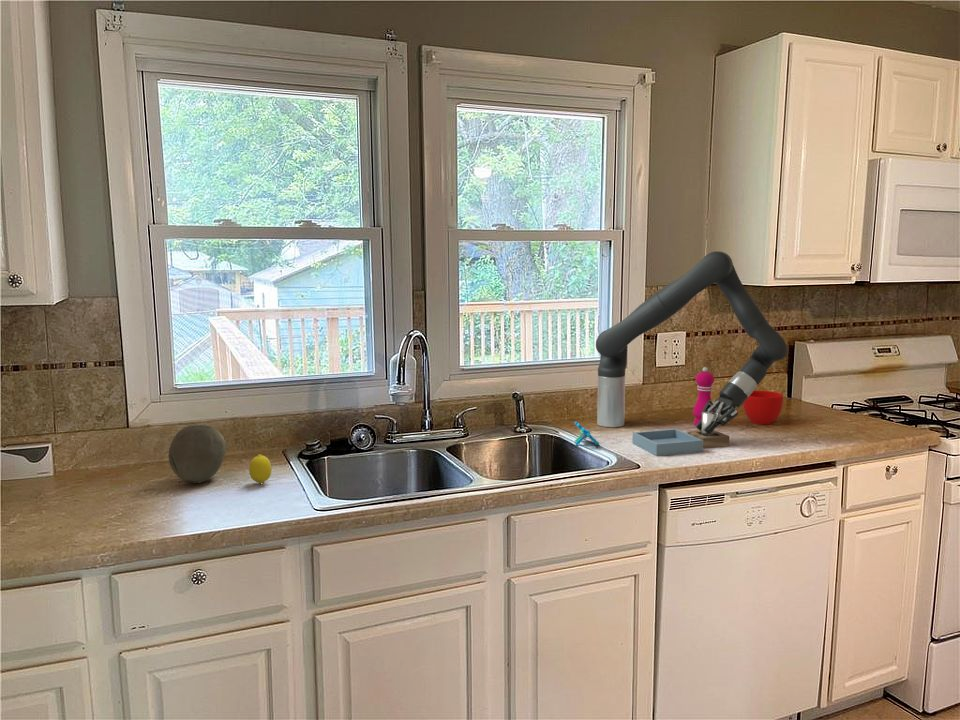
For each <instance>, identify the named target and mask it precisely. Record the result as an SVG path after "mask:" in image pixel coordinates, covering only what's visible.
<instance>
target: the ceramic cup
mask: <svg viewBox="0 0 960 720" xmlns="http://www.w3.org/2000/svg"><path fill="white" fill-rule="evenodd" d="M783 403H784V395H783V394H782V393H781V392H776V391H770V390H754V391H753V392H752V394H751V395H750V396H749V397H748V398H747V399H746V400H745V402H744V403H743V404H742V405H743V409H744V413H745V415H746V416H747V418H748V419H749V421H751V423H753V424H756V425H763V424H764V425H766V426H767V425H771V424H772V423H774V421H775V420H776V419H777V418H778V417H779V415H780V413H781V411H782V409H783V408H782V407H783ZM764 425H763V426H764Z"/></svg>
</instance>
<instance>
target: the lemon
mask: <svg viewBox="0 0 960 720" xmlns="http://www.w3.org/2000/svg"><path fill="white" fill-rule="evenodd" d="M248 470H249V476H250V478H251V480H252V481H254V482H256V483H258V484H259V483H263V484H264V483H265V482H267V480H269V479H270V477H271V476H272V464H271V461H270V460H269V458H268V457H267V456H265V455H262V454H257V455H256V456H254V457H253V458H252V459H251V461H250V462H249V469H248Z"/></svg>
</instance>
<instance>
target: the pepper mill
mask: <svg viewBox="0 0 960 720" xmlns="http://www.w3.org/2000/svg"><path fill="white" fill-rule="evenodd" d="M695 382H696V384H697V385H696V390H697V392H698V396H697V400H696V402H695V404H694V406H693V409H692V415H693V416H694V417H695V418H694V419H693V424H694V425H695V426H696V425H697V424H698V423H699V422H700V420H701V419H702V415H701V412H702V410H703V409H704V407H705V405H706V403H707V402H708V400H711V401H712V398H711V397H712V396H711V394H712V391H713V386H712V385H713V384H714V382H715V377H714V375H713V374H712V372H710V371H709V369H708V367H707V366H703V368H702V371H701V372H699V373H697V374H696V377H695ZM706 412H707V411H706ZM712 412H713V411H712ZM713 413H714V412H713Z"/></svg>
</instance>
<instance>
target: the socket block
mask: <svg viewBox="0 0 960 720" xmlns="http://www.w3.org/2000/svg"><path fill="white" fill-rule="evenodd" d="M686 433H687V434H689V435H692V436H694V437H696V438H699V439H701V440H703V449H707V448H709V449H710V448H718V447H719V448H720V447H728V446H729V447H730V435H727V434H726V433H725V434H724V432H723V433H722V432H720V431H718V430H715V436H703V435H701V431H700V430H690V431H689V430H688V431H686Z"/></svg>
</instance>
